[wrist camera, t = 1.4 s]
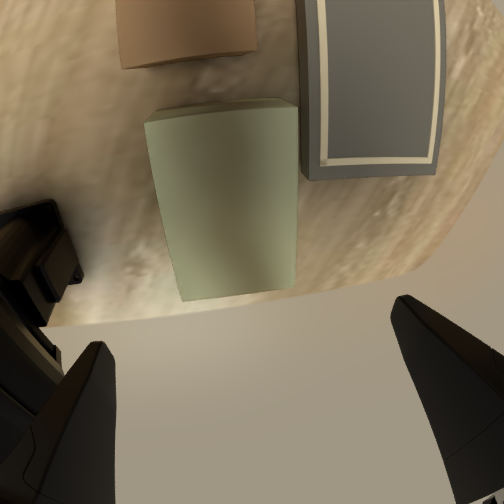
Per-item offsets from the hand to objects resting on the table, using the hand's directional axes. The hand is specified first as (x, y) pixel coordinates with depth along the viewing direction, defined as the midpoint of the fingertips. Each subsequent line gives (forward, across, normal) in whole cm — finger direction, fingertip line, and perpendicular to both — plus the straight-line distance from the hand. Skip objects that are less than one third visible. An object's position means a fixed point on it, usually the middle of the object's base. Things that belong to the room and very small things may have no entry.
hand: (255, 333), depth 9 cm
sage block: (+11, 0, 0) cm, 11 cm away
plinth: (+11, -9, -7) cm, 16 cm away
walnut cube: (+11, +1, -10) cm, 15 cm away
